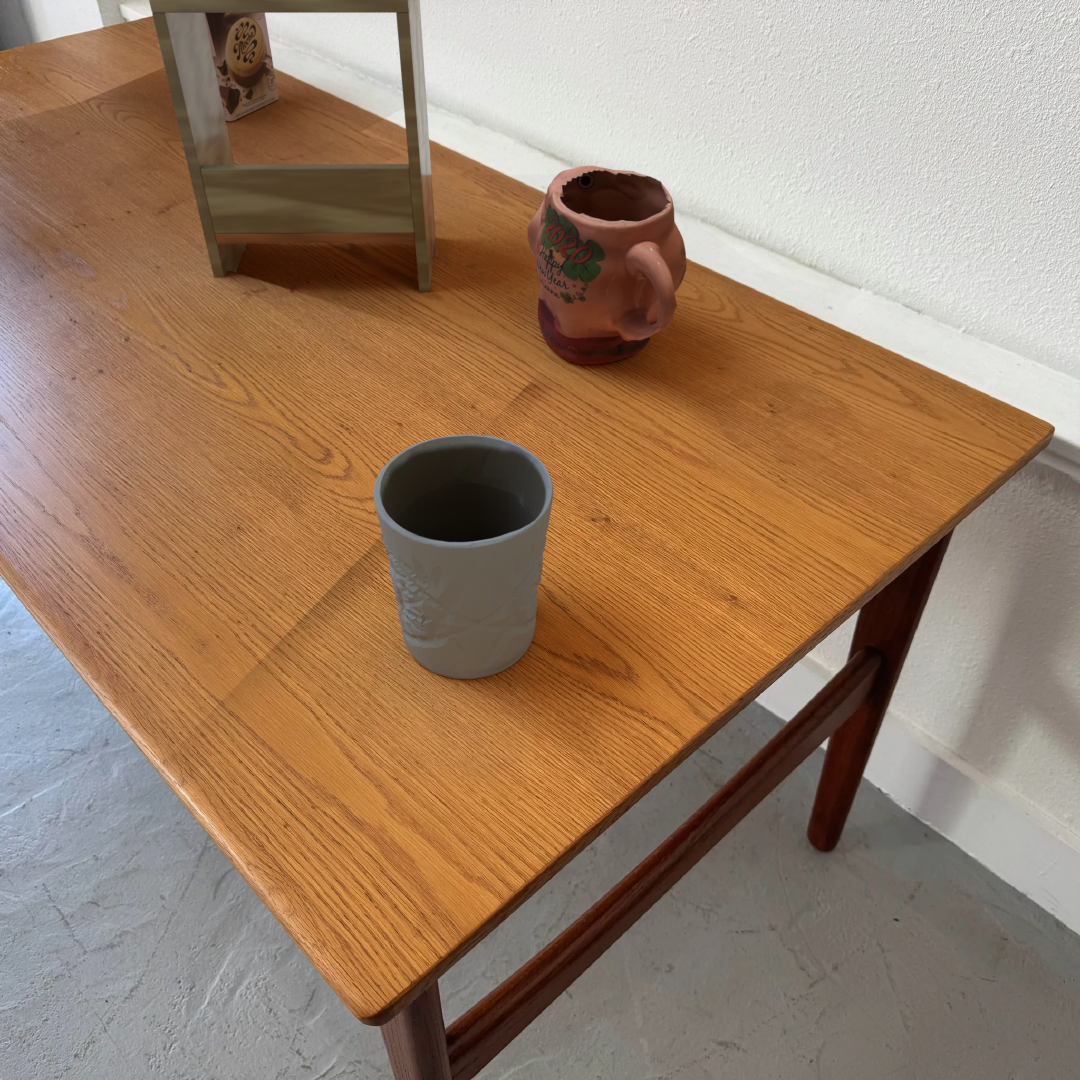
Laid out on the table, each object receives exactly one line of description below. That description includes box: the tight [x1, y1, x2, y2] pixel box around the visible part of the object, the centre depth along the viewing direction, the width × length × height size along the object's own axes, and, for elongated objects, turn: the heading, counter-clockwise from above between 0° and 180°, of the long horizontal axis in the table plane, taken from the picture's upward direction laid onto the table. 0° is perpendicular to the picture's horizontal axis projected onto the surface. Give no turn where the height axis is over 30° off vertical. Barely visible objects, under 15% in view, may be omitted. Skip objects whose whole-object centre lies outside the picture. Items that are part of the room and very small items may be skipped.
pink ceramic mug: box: [526, 165, 687, 365], centre depth 86 cm, size 20×12×14 cm, turn 30°
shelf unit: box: [148, 0, 437, 293], centre depth 92 cm, size 11×20×26 cm, turn 91°
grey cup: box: [372, 433, 554, 680], centre depth 63 cm, size 10×10×12 cm
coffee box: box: [204, 13, 280, 122], centre depth 125 cm, size 9×6×16 cm
